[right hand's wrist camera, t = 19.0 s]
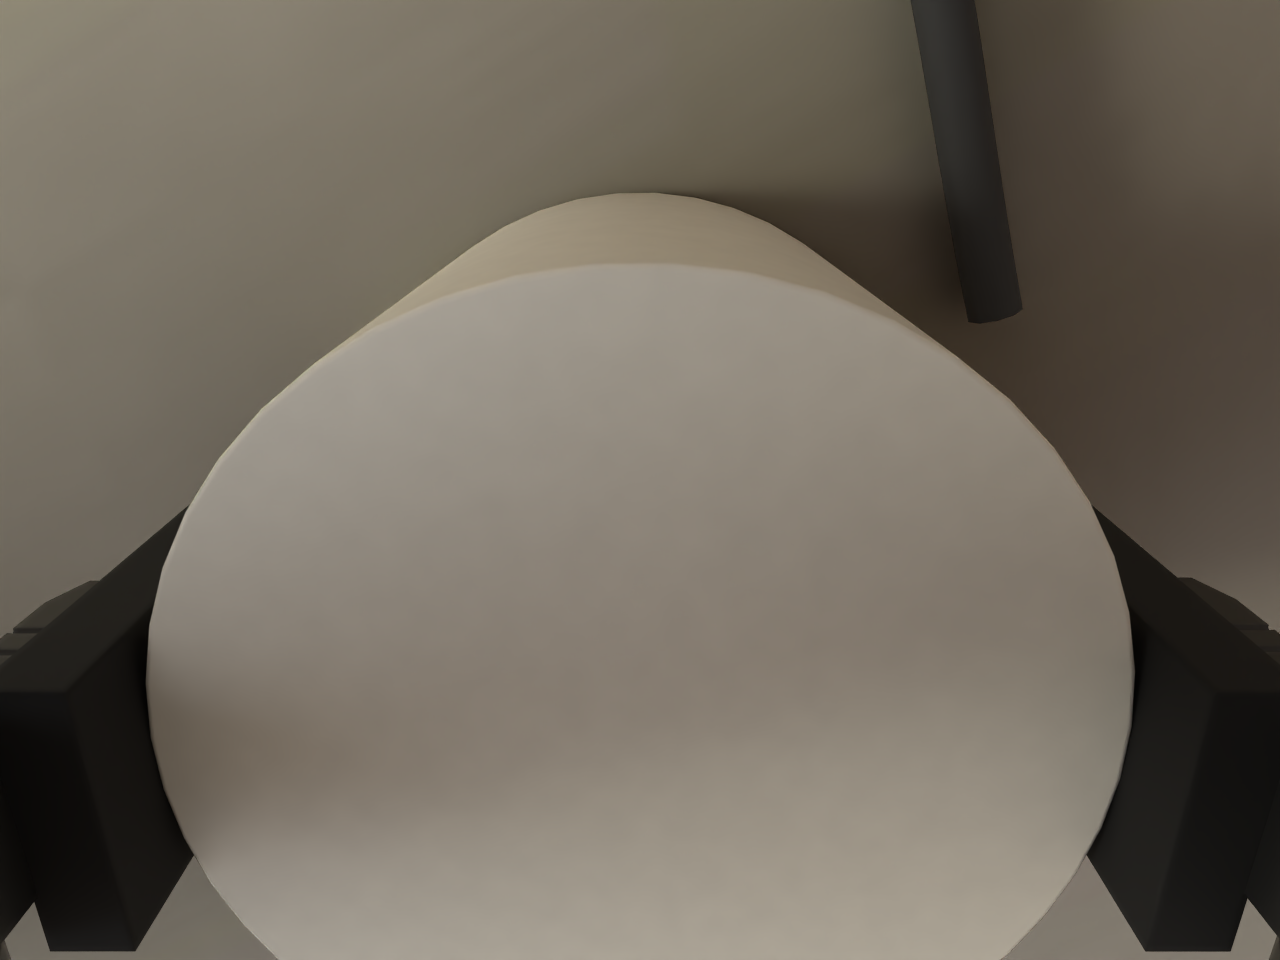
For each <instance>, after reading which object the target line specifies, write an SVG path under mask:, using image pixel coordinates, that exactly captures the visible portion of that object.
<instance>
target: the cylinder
mask: <svg viewBox="0 0 1280 960" xmlns="http://www.w3.org/2000/svg"><path fill="white" fill-rule="evenodd" d="M1134 680H1135V666H1134V656H1133V646H1132V635H1131V625H1130V615H1129V610H1128V606H1127V603H1126V599H1125V595H1124V591H1123V588H1122V584H1121V580H1120V576H1119V572H1118V569H1117V565H1116V561H1115V557H1114V555H1113V553H1112V550H1111V548H1110V546H1109V544H1108V541H1107V539H1106V537H1105V535H1104V533H1103V530H1102V528H1101V526H1100V524H1099V521H1098V519H1097V517H1096V515H1095V513H1094V510H1093V508H1092V506H1091V504H1090V501H1089V500H1088V498H1087V497H1086V495H1085V494H1084V492H1083V491H1082V489H1081V488H1080V486H1079V485H1078V483H1077V482H1076V480H1075V479H1074V477H1073V476H1072V474H1071V473H1070V471H1069V470H1068V468H1067V466H1066V465H1065V463H1064V462H1063V460H1062V459H1061V457H1060V456H1059V454H1058V453H1057V451H1056V450H1055V448H1054V447H1053V446H1052V445H1051V444H1050V443H1049V442H1048V441H1047V440H1046V438H1045V437H1044V436H1043V435H1042V434H1041V433H1040V432H1039V431H1038V430H1037V429H1036V427H1035V426H1034V425H1033V424H1032V423H1031V422H1030V421H1029V420H1028V419H1027V418H1026V417H1025V415H1024V414H1023V413H1022V412H1021V411H1020V410H1019V409H1018V408H1017V407H1016V406H1015V404H1014V403H1013V402H1012V401H1011V400H1010V399H1009V398H1008V397H1006V396H1005V395H1004V394H1003V393H1001V392H1000V391H999V390H998V389H996V388H995V387H994V386H993V385H991V384H990V383H989V382H988V381H987V380H985V379H984V378H983V377H982V376H980V375H979V374H978V373H977V372H975V371H974V370H973V369H972V368H970V367H969V366H968V365H967V364H966V363H964V362H963V361H962V360H961V359H959V358H958V357H957V356H956V355H954V354H953V353H952V352H950V351H949V350H947V349H946V348H945V347H943V346H942V345H941V344H939V343H938V342H937V341H935V340H934V339H932V338H931V337H930V336H928V335H927V334H926V333H924V332H923V331H922V330H920V329H919V328H918V327H916V326H915V325H913V324H912V323H911V322H909V321H908V320H907V319H905V318H904V317H903V316H901V315H900V314H898V313H897V312H896V311H894V310H893V309H892V308H890V307H889V306H888V305H886V304H885V303H883V302H882V301H881V300H879V299H878V298H877V297H875V296H874V295H873V294H871V293H870V292H869V291H867V290H866V289H864V288H863V287H862V286H860V285H859V284H858V283H856V282H855V281H854V280H852V279H851V278H849V277H848V276H847V275H845V274H844V273H843V272H841V271H840V270H839V269H837V268H836V267H835V266H833V265H832V264H830V263H829V262H828V261H826V260H825V259H824V258H822V257H821V256H820V255H818V254H817V253H815V252H814V251H813V250H811V249H810V248H809V247H807V246H806V245H805V244H803V243H802V242H800V241H799V240H797V239H795V238H794V237H792V236H790V235H788V234H787V233H785V232H783V231H782V230H780V229H778V228H777V227H775V226H773V225H772V224H770V223H768V222H766V221H763V220H761V219H759V218H756V217H754V216H751V215H749V214H747V213H744V212H742V211H740V210H737V209H735V208H732V207H728V206H725V205H721V204H717V203H713V202H710V201H706V200H702V199H698V198H694V197H686V196H678V195H670V194H662V193H615V194H608V195H602V196H595V197H589V198H582V199H576V200H573V201H570V202H566V203H563V204H560V205H556V206H553V207H549V208H546V209H543V210H539V211H537V212H535V213H533V214H531V215H528V216H526V217H524V218H522V219H520V220H517V221H515V222H513V223H511V224H509V225H506V226H504V227H503V228H501V229H499V230H498V231H496V232H495V233H493V234H492V235H490V236H488V237H487V238H485V239H484V240H482V241H481V242H479V243H477V244H476V245H474V246H473V247H471V248H470V249H469V250H467V251H466V252H464V253H463V254H462V255H460V256H459V257H458V258H456V259H455V260H454V261H452V262H451V263H450V264H448V265H447V266H446V267H444V268H443V269H441V270H440V271H439V272H437V273H436V274H435V275H433V276H432V277H431V278H429V279H428V280H427V281H425V282H424V283H422V284H421V285H420V286H418V287H417V288H416V289H414V290H413V291H412V292H410V293H409V294H408V295H406V296H405V297H404V298H402V299H401V300H399V301H398V302H397V303H395V304H394V305H393V306H391V307H390V308H389V309H387V310H386V311H385V312H383V313H382V314H381V315H379V316H378V317H376V318H375V319H374V320H372V321H371V322H370V323H368V324H367V325H366V326H364V327H363V328H362V329H360V330H359V331H357V332H356V333H355V334H353V335H352V336H351V337H349V338H348V339H347V340H345V341H344V342H343V343H341V344H340V345H339V346H337V347H336V348H334V349H333V350H332V351H330V352H329V353H328V354H326V355H325V356H324V357H322V358H321V359H320V360H318V361H317V362H315V363H314V364H313V365H312V366H311V367H309V368H308V369H307V370H306V371H305V372H304V373H302V374H301V375H300V376H299V377H298V378H297V379H295V380H294V381H293V382H292V383H291V384H290V385H288V386H287V387H286V388H285V389H284V390H283V391H281V392H280V393H279V394H278V395H277V396H276V397H274V398H273V399H272V400H271V401H270V402H269V403H267V404H266V405H265V406H264V407H263V408H262V409H261V410H260V411H259V412H258V413H257V414H256V416H255V417H254V418H253V419H252V420H251V421H250V423H249V424H248V425H247V426H246V427H245V428H244V430H243V431H242V432H241V433H240V434H239V435H238V437H237V438H236V439H235V440H234V441H233V442H232V444H231V445H230V446H229V447H228V448H227V449H226V451H225V452H224V453H223V454H222V455H221V456H220V458H219V459H218V460H217V462H216V464H215V465H214V467H213V468H212V470H211V472H210V473H209V475H208V477H207V478H206V480H205V481H204V483H203V485H202V486H201V488H200V490H199V491H198V493H197V494H196V496H195V498H194V499H193V501H192V503H191V504H190V506H189V507H188V509H187V511H186V512H185V515H184V517H183V520H182V522H181V524H180V527H179V529H178V532H177V534H176V537H175V539H174V541H173V544H172V546H171V549H170V551H169V554H168V556H167V558H166V561H165V563H164V566H163V568H162V573H161V577H160V581H159V586H158V590H157V594H156V599H155V603H154V607H153V612H152V616H151V620H150V625H149V638H148V653H147V669H146V693H147V704H148V714H149V725H150V736H151V741H152V745H153V749H154V752H155V756H156V760H157V764H158V768H159V772H160V776H161V780H162V784H163V788H164V791H165V793H166V796H167V798H168V800H169V803H170V805H171V808H172V810H173V812H174V815H175V817H176V820H177V822H178V824H179V827H180V829H181V832H182V834H183V837H184V839H185V840H186V842H187V844H188V845H189V847H190V849H191V850H192V852H193V854H194V856H195V857H196V859H197V861H198V862H199V864H200V866H201V867H202V869H203V871H204V872H205V874H206V876H207V878H208V879H209V881H210V883H211V884H212V885H213V887H214V888H215V889H216V890H217V892H218V893H219V894H220V895H221V897H222V898H223V899H224V901H225V902H226V903H227V904H228V906H229V907H230V908H231V910H232V911H233V912H234V913H235V915H236V916H237V917H238V919H239V920H240V921H241V922H242V924H243V925H244V926H245V927H246V928H247V929H248V930H249V931H250V932H251V933H252V934H253V935H254V936H255V937H256V938H257V939H258V940H259V941H260V942H261V943H262V944H263V945H264V946H265V947H266V948H267V949H268V950H269V951H270V952H271V953H272V954H273V955H274V956H275V957H276V958H277V959H278V960H1002V959H1003V958H1004V957H1005V956H1006V955H1008V954H1009V953H1010V952H1011V951H1012V950H1013V948H1014V947H1015V946H1016V945H1017V944H1018V943H1019V942H1020V941H1021V940H1022V939H1023V938H1024V937H1025V936H1026V935H1027V934H1028V933H1029V932H1030V931H1031V930H1032V929H1033V928H1034V926H1035V925H1036V924H1037V923H1038V922H1039V921H1040V920H1041V919H1042V918H1043V917H1044V916H1045V915H1046V913H1047V912H1048V911H1049V909H1050V908H1051V907H1052V905H1053V904H1054V903H1055V901H1056V900H1057V898H1058V897H1059V896H1060V894H1061V893H1062V892H1063V890H1064V889H1065V888H1066V886H1067V885H1068V884H1069V882H1070V881H1071V880H1072V878H1073V877H1074V876H1075V874H1076V873H1077V871H1078V869H1079V867H1080V865H1081V863H1082V862H1083V860H1084V858H1085V856H1086V854H1087V853H1088V851H1089V849H1090V847H1091V845H1092V844H1093V842H1094V840H1095V838H1096V836H1097V835H1098V833H1099V831H1100V829H1101V827H1102V825H1103V822H1104V819H1105V817H1106V814H1107V811H1108V809H1109V806H1110V804H1111V801H1112V798H1113V796H1114V793H1115V791H1116V788H1117V785H1118V783H1119V780H1120V777H1121V772H1122V768H1123V763H1124V759H1125V754H1126V750H1127V745H1128V740H1129V736H1130V731H1131V727H1132V713H1133V697H1134Z"/></svg>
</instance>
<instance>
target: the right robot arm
mask: <svg viewBox="0 0 1280 960" xmlns="http://www.w3.org/2000/svg"><path fill="white" fill-rule="evenodd" d="M911 4H912V10H913V15H914V21H915V26H916V32H917V37H918V43H919V48H920V54H921V60H922V66H923V71H924V77H925V83H926V89H927V94H928V100H929V106H930V112H931V118H932V124H933V130H934V136H935V142H936V148H937V154H938V159H939V165H940V171H941V177H942V183H943V189H944V194H945V200H946V206H947V211H948V217H949V223H950V228H951V234H952V239H953V244H954V250H955V255H956V261H957V266H958V271H959V277H960V282H961V287H962V292H963V297H964V302H965V307H966V312H967V317H968V322H972V323H986V322H992V321H998V320H1001V319H1004V318H1007V317H1010V316H1013V315H1015V314H1016V313H1018V312H1019V311H1021V310H1022V309H1023V308H1022V302H1021V296H1020V291H1019V285H1018V279H1017V274H1016V268H1015V262H1014V256H1013V250H1012V244H1011V238H1010V232H1009V226H1008V220H1007V213H1006V207H1005V200H1004V194H1003V187H1002V181H1001V174H1000V168H999V161H998V154H997V147H996V140H995V134H994V127H993V120H992V113H991V106H990V100H989V93H988V86H987V79H986V72H985V66H984V59H983V52H982V46H981V39H980V33H979V26H978V20H977V14H976V7H975V1H974V0H911ZM189 506H190V505H189ZM189 506H187V507H186V508H185V509H184V510H183V511H182V512H180V513H179V514H178V515H177V516H176V517H174V518H173V519H172V520H171V521H170V522H169V523H167V524H166V525H165V526H164V527H163V528H162V529H160V530H159V531H158V532H157V533H156V534H154V535H153V536H152V537H151V538H150V539H149V540H147V541H146V542H145V543H144V544H143V545H141V546H140V547H139V548H138V549H137V550H136V551H134V552H133V553H132V554H131V555H130V556H128V557H127V558H126V559H125V560H124V561H123V562H121V563H120V564H119V565H118V566H117V567H115V568H114V569H113V570H112V571H111V572H110V573H108V574H107V575H106V576H105V577H104V578H102V579H101V580H100V581H89V582H87V583H85V584H83V585H81V586H78V587H76V588H74V589H72V590H70V591H68V592H66V593H64V594H62V595H60V596H58V597H56V598H54V599H52V600H50V601H48V602H46V603H44V604H43V605H42V606H40V607H39V608H38V609H37V610H35V611H34V612H33V613H32V614H30V615H29V616H28V617H27V618H26V619H24V620H23V621H22V622H21V623H19V624H18V625H17V626H16V627H14V628H13V630H14V631H13V633H7V634H6V635H4V636H3V637H2V638H1V639H0V960H11V958H10V955H9V952H8V949H7V946H6V943H5V938H6V937H7V936H8V934H9V933H10V932H11V931H12V929H13V928H14V927H15V925H16V924H17V923H18V922H19V920H20V919H21V918H22V916H23V915H24V914H25V913H26V911H27V910H28V909H29V907H30V906H31V905H32V904H33V902H35V905H36V908H37V911H38V915H39V918H40V921H41V924H42V927H43V930H44V933H45V937H46V940H47V943H48V946H49V949H50V951H136V949H137V947H138V946H139V944H140V943H141V941H142V939H143V938H144V936H145V934H146V933H147V931H148V929H149V928H150V926H151V925H152V923H153V921H154V920H155V918H156V916H157V915H158V913H159V911H160V910H161V908H162V906H163V905H164V903H165V902H166V900H167V898H168V897H169V895H170V893H171V892H172V890H173V888H174V887H175V885H176V884H177V882H178V880H179V879H180V877H181V875H182V874H183V872H184V870H185V869H186V867H187V865H188V864H189V862H190V861H191V859H192V857H193V856H194V854H193V852H192V850H191V849H190V847H189V845H188V844H187V842H186V840H185V839H184V837H183V834H182V832H181V829H180V827H179V824H178V822H177V820H176V817H175V815H174V812H173V810H172V808H171V805H170V803H169V800H168V798H167V796H166V793H165V791H164V788H163V784H162V780H161V776H160V772H159V768H158V764H157V760H156V756H155V752H154V749H153V745H152V741H151V736H150V725H149V714H148V704H147V693H146V669H147V653H148V638H149V625H150V620H151V616H152V612H153V607H154V603H155V599H156V594H157V590H158V586H159V581H160V577H161V573H162V568H163V566H164V563H165V561H166V558H167V556H168V554H169V551H170V549H171V546H172V544H173V541H174V539H175V537H176V534H177V532H178V529H179V527H180V524H181V522H182V520H183V517H184V515H185V512H186V511H187V509H188V507H189ZM1091 506H1092V505H1091ZM1092 508H1093V510H1094V513H1095V515H1096V517H1097V519H1098V521H1099V524H1100V526H1101V528H1102V530H1103V533H1104V535H1105V537H1106V539H1107V541H1108V544H1109V546H1110V548H1111V550H1112V553H1113V555H1114V557H1115V561H1116V565H1117V569H1118V572H1119V576H1120V580H1121V584H1122V588H1123V591H1124V595H1125V599H1126V603H1127V606H1128V610H1129V615H1130V625H1131V635H1132V646H1133V656H1134V666H1135V680H1134V697H1133V713H1132V727H1131V731H1130V736H1129V740H1128V745H1127V750H1126V754H1125V759H1124V763H1123V768H1122V772H1121V777H1120V780H1119V783H1118V785H1117V788H1116V791H1115V793H1114V796H1113V798H1112V801H1111V804H1110V806H1109V809H1108V811H1107V814H1106V817H1105V819H1104V822H1103V825H1102V827H1101V829H1100V831H1099V833H1098V835H1097V836H1096V838H1095V840H1094V842H1093V844H1092V845H1091V847H1090V849H1089V851H1088V853H1087V854H1086V855H1087V856H1088V858H1089V860H1090V861H1091V863H1092V865H1093V866H1094V868H1095V869H1096V871H1097V873H1098V874H1099V876H1100V878H1101V879H1102V881H1103V883H1104V884H1105V886H1106V887H1107V889H1108V891H1109V892H1110V894H1111V896H1112V897H1113V899H1114V901H1115V902H1116V904H1117V905H1118V907H1119V909H1120V910H1121V912H1122V914H1123V915H1124V917H1125V919H1126V920H1127V922H1128V924H1129V925H1130V927H1131V928H1132V930H1133V932H1134V933H1135V935H1136V937H1137V938H1138V940H1139V942H1140V943H1141V945H1142V946H1143V948H1144V950H1145V951H1231V949H1232V945H1233V942H1234V939H1235V936H1236V933H1237V930H1238V927H1239V923H1240V920H1241V917H1242V914H1243V911H1244V908H1245V904H1246V901H1247V898H1248V899H1249V900H1250V902H1251V903H1252V904H1253V905H1254V907H1255V908H1256V909H1257V910H1258V912H1259V913H1260V914H1261V916H1262V917H1263V918H1264V919H1265V921H1266V922H1267V923H1268V925H1269V926H1270V927H1271V928H1272V930H1273V931H1274V932H1275V933H1276V935H1277V938H1276V940H1275V943H1274V946H1273V949H1272V952H1271V955H1270V958H1269V960H1280V634H1279V633H1278V632H1277V631H1275V630H1269V629H1268V624H1267V623H1265V622H1264V621H1263V620H1262V619H1260V618H1259V617H1258V616H1257V615H1255V614H1254V613H1253V612H1252V611H1250V610H1249V609H1248V608H1246V607H1245V606H1244V605H1243V604H1241V603H1240V602H1239V601H1238V600H1236V599H1234V598H1232V597H1230V596H1228V595H1226V594H1224V593H1222V592H1220V591H1218V590H1216V589H1214V588H1212V587H1210V586H1207V585H1205V584H1203V583H1201V582H1199V581H1197V580H1195V579H1193V578H1177V577H1176V576H1175V575H1173V574H1172V573H1171V572H1170V571H1169V570H1168V569H1166V568H1165V567H1164V566H1163V565H1162V564H1160V563H1159V562H1158V561H1157V560H1156V559H1155V558H1153V557H1152V556H1151V555H1150V554H1149V553H1147V552H1146V551H1145V550H1144V549H1143V548H1142V547H1140V546H1139V545H1138V544H1137V543H1136V542H1134V541H1133V540H1132V539H1131V538H1130V537H1129V536H1127V535H1126V534H1125V533H1124V532H1123V531H1121V530H1120V529H1119V528H1118V527H1117V526H1116V525H1114V524H1113V523H1112V522H1111V521H1110V520H1108V519H1107V518H1106V517H1105V516H1104V515H1103V514H1101V513H1100V512H1099V511H1098V510H1097V509H1095V508H1094V507H1093V506H1092Z"/></svg>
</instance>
